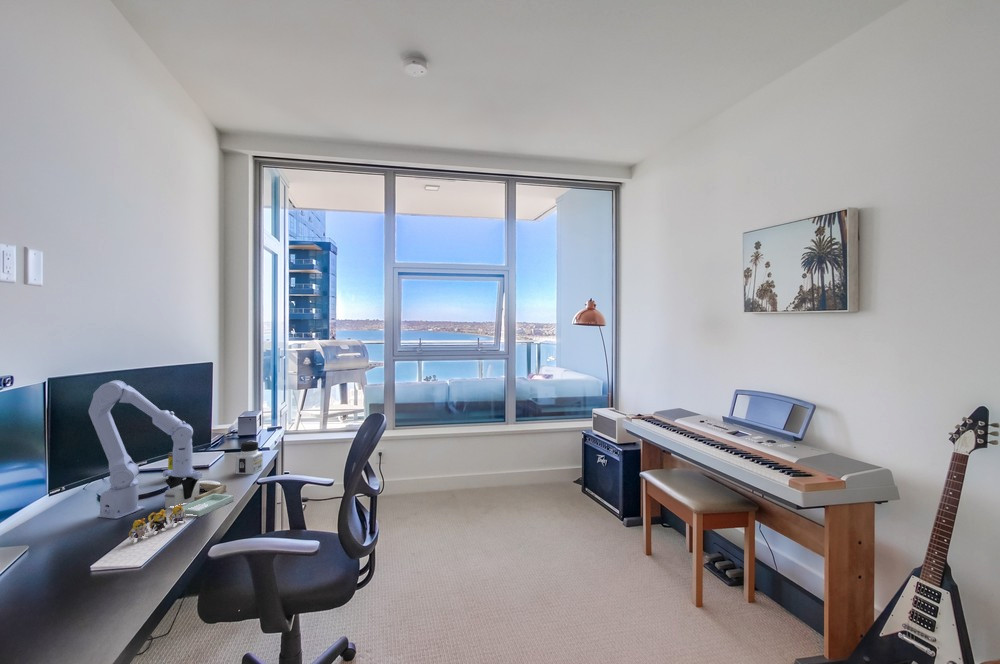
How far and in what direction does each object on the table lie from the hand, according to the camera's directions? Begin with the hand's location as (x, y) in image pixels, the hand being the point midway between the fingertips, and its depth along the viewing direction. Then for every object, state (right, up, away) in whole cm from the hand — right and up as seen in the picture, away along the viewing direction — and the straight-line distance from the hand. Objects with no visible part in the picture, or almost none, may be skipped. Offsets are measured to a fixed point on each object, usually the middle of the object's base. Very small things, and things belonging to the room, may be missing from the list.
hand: (182, 497), depth 159 cm
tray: (+11, -2, -4) cm, 12 cm away
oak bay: (+1, -2, +6) cm, 7 cm away
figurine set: (+9, -2, -23) cm, 25 cm away
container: (+3, -2, +37) cm, 37 cm away
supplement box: (-21, -2, +28) cm, 35 cm away
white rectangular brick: (0, -2, 0) cm, 2 cm away
